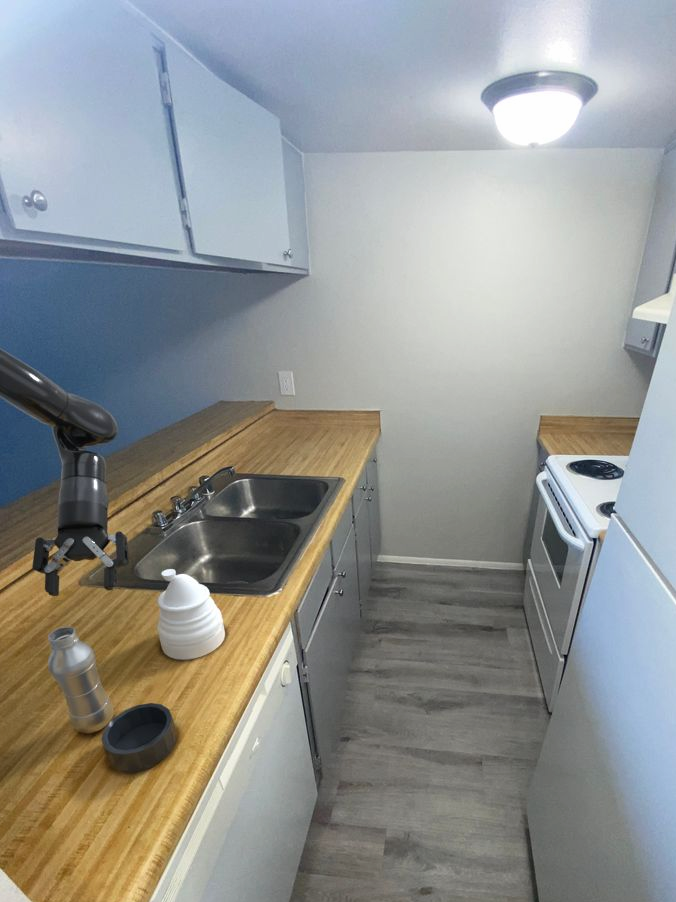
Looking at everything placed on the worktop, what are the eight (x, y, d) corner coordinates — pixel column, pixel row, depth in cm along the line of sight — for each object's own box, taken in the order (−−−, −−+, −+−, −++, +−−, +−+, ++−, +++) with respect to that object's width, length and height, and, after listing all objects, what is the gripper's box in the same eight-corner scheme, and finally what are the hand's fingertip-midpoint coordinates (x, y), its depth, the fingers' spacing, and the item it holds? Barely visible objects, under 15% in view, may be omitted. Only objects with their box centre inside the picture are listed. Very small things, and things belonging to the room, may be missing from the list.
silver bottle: (76, 745, 79) (37, 653, 70) (72, 718, 84) (35, 629, 75) (119, 727, 83) (87, 638, 73) (113, 702, 87) (83, 615, 78)
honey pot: (167, 667, 96) (148, 594, 87) (157, 632, 105) (139, 563, 97) (232, 646, 102) (220, 576, 94) (216, 615, 112) (204, 548, 103)
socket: (101, 779, 74) (93, 760, 72) (117, 727, 83) (111, 709, 81) (171, 765, 77) (166, 746, 74) (180, 716, 85) (176, 698, 83)
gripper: (27, 501, 82) (22, 593, 77) (119, 496, 85) (119, 583, 81) (49, 516, 89) (45, 601, 84) (132, 510, 92) (133, 591, 88)
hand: (81, 592), depth 83 cm, fingers open, 8 cm apart
